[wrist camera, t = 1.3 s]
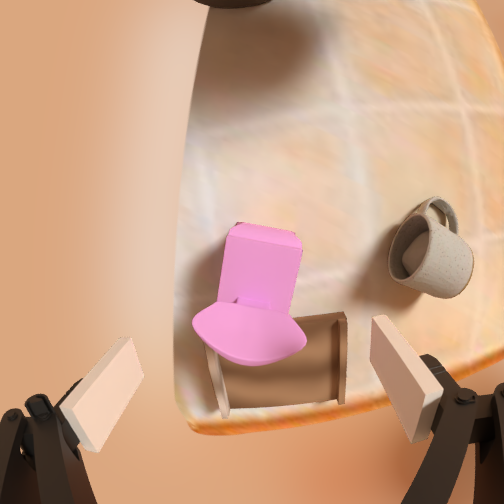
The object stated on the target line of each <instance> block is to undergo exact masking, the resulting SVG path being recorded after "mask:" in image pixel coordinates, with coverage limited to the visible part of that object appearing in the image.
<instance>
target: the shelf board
mask: <svg viewBox="0 0 504 504" xmlns="http://www.w3.org/2000/svg"><path fill="white" fill-rule="evenodd" d="M293 320H294V321H295V322H296V323H297V324H298V326H299V327H300V328H301V329H302V331H303V332H304V334H305V336H306V339H307V342H306V345H305V346H304V347H303V348H302V349H301V350H300V351H298V352H297V353H295V354H294V355H291V356H289V357H287V358H285V359H282V360H280V361H277V362H274V363H270V364H267V365H261V366H245V365H240V364H236V363H233V362H231V361H229V360H227V359H226V358H224V357H222V356H221V355H219V354H218V353H217V352H215V351H214V350H213V349H212V348H210V347H209V346H208V345H207V344H206V343H205V342H204V341H203V343H204V347H205V351H206V356H207V360H208V368H209V372H210V376H211V380H212V384H213V388H214V392H215V396H216V398H217V401H218V404H219V408H220V412H221V416H222V419H228V418H229V413H230V409H235V408H258V407H273V406H285V405H295V404H304V403H313V402H320V401H328V400H334V399H337V401H338V405H341V404H345V389H346V368H347V318H346V316H345V314H344V312H337V313H329V314H322V315H314V316H305V317H297V318H293Z"/></svg>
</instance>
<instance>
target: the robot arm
mask: <svg viewBox="0 0 504 504" xmlns="http://www.w3.org/2000/svg"><path fill="white" fill-rule="evenodd" d="M195 1H196V2H198V3H201V4H204V5H208V6H212V7H220V8H239V7H247V6H253V5H257V4H261V3H264V2H267V1H269V0H195ZM370 362H371V364H372V366H373V367H374V369H375V371H376V373H377V375H378V377H379V379H380V381H381V383H382V385H383V387H384V389H385V391H386V393H387V395H388V397H389V399H390V401H391V403H392V405H393V407H394V409H395V411H396V413H397V415H398V417H399V419H400V422H401V424H402V426H403V428H404V430H405V432H406V434H407V437H408V439H409V441H410V443H411V444H413V443H416V442H419V441H422V440H425V439H428V436H429V433H430V430H432V432H433V434H434V437H433V440H432V442H431V444H430V447H429V449H428V451H427V454H426V456H425V458H424V460H423V462H422V464H421V466H420V468H419V470H418V472H417V474H416V477H415V478H414V480H413V482H412V485H411V486H410V488H409V490H408V492H407V493H406V495H405V497H404V499H403V500H402V502H401V504H447V503H448V500H449V498H450V495H451V493H452V490H453V488H454V485H455V483H456V480H457V477H458V475H459V472H460V469H461V466H462V463H463V459H464V457H465V454H466V451H467V447H468V444H471V443H475V455H476V456H475V487H474V500H473V504H504V383H501V384H499V385H498V386H497V387H496V388H495V391H494V393H493V394H489V395H481V396H478V395H477V394H476V392H474V391H473V390H470V389H467V388H460V387H459V385H458V384H457V383H456V382H455V380H454V379H453V378H452V377H451V376H450V374H449V373H448V372H447V371H446V369H445V368H444V367H443V366H442V365H441V363H440V362H439V361H438V360H437V359H436V358H434V357H433V356H431V355H429V354H426V355H422V356H418V355H417V353H416V352H415V351H414V349H413V348H412V347H411V346H410V344H409V343H408V342H407V341H406V339H405V338H404V337H403V336H402V334H401V333H400V332H399V331H398V329H397V328H396V327H395V326H394V324H393V323H392V322H391V321H390V320H389V318H388V317H387V316H386V315H379V316H373V317H372V329H371V348H370ZM143 378H144V374H143V371H142V368H141V365H140V362H139V359H138V356H137V353H136V350H135V347H134V344H133V341H132V338H131V337H120V338H119V339H118V340H117V341H116V343H115V344H114V345H113V346H112V347H111V348H110V349H109V350H108V351H107V353H106V354H105V355H104V356H103V357H102V358H101V359H100V360H99V362H98V363H97V364H96V365H95V366H94V367H93V368H92V369H91V370H90V372H89V373H88V374H87V375H86V376H85V377H84V378H82V379H80V380H79V381H77V382H76V383H74V385H73V386H72V387H71V388H70V390H68V391H67V392H66V395H64V396H63V397H62V398H61V399H60V401H59V402H58V403H57V404H56V405H55V406H54V407H53V406H52V405H51V403H50V401H49V399H48V397H47V396H46V395H44V394H36V395H33V396H31V397H30V398H28V399H27V401H26V402H25V407H26V408H27V410H28V412H29V414H30V416H31V417H25V416H24V414H23V413H22V411H21V410H20V409H16V408H15V409H10V410H8V411H7V412H6V413H5V414H4V415H3V417H2V420H1V422H0V504H97V502H96V499H95V496H94V494H93V491H92V488H91V485H90V482H89V479H88V476H87V473H86V470H85V467H84V463H83V460H82V456H81V453H80V450H79V449H78V447H77V445H78V444H79V442H81V444H82V445H83V447H84V448H85V450H88V451H91V452H95V453H99V451H100V450H101V448H102V446H103V444H104V443H105V441H106V439H107V438H108V436H109V434H110V433H111V431H112V429H113V428H114V426H115V424H116V423H117V421H118V419H119V418H120V416H121V414H122V413H123V411H124V409H125V408H126V406H127V404H128V402H129V401H130V399H131V398H132V396H133V395H134V393H135V391H136V390H137V388H138V386H139V385H140V383H141V381H142V380H143ZM20 448H21V449H22V450H23V452H22V454H21V452H20Z"/></svg>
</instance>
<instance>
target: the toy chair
mask: <svg viewBox="0 0 504 504" xmlns="http://www.w3.org/2000/svg"><path fill="white" fill-rule="evenodd" d="M302 252H303V250H302V243H301V241H300V239H299V238H298V237H296V236H295V233H294V232H292V231H288V230H282V229H277V228H272V227H266V226H261V225H255V224H250V223H244V222H237V225H236V226H234V227H232V228H231V229H230V230H229V233H228V235H227V238H226V244H225V250H224V257H223V264H222V270H221V277H220V283H219V290H218V296H217V302H215V303H214V304H212V305H210V306H209V307H207V308H205V309H203V310H202V311H200V312H199V313H198V314H196V315H195V316H194V318H193V319H192V326H193V328H194V330H195V332H196V333H197V334H198V336H199V337H200V338H201V339H202V340H203V341H204V342H205V343H206V344H207V345H208V346H209V347H210V348H212V349H213V350H214V351H215V352H217V353H218V354H219V355H221V356H222V357H224V358H226V359H227V360H229V361H231V362H233V363H236V364H240V365H245V366H261V365H267V364H270V363H274V362H277V361H280V360H282V359H285V358H287V357H289V356H291V355H294V354H295V353H297V352H298V351H300V350H301V349H302V348H303V347H304V346H305V345H306V342H307V339H306V336H305V334H304V332H303V331H302V329H301V328H300V327H299V326H298V324H297V323H296V322H295V321H294V320H293V318H292V317H291V316H290V315H289V314H288V313H289V309H290V304H291V300H292V295H293V291H294V287H295V282H296V278H297V274H298V270H299V265H300V261H301V256H302Z"/></svg>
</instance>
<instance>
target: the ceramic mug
mask: <svg viewBox="0 0 504 504" xmlns="http://www.w3.org/2000/svg"><path fill="white" fill-rule="evenodd" d="M430 203H432V204H434V205H435V206H437V207H438V208H439V209H440V210H442V211H443V213H444V214H446V216H447V219H448V222H449V230H448V229H447V228H446V227H444V226H443V225H441V224H440V223H438V222H437V221H435V220H434V219H432V218H431V217H429V216H428V215H426V211H427V209H428V207H429V205H430ZM473 268H474V257H473V253H472V250H471V248H470V247H469V246H468V244H467V243H466V242H465V241H464V240H463V239H462V238H461V237H459V236H458V219H457V216H456V214H455V212H454V210H453V208H452V207H451V205H450V204H449V203H448V202H447V201H445V200H444V199H443V198H441V197H432V198H430V199H428V200H426V201H424V202H423V203H422V204H421V206H420V208H419V210H418V212H417V213H415V214H413V215H411V216H409V217H408V218H407V219H406V220H405V221H404V222H403V223H402V225H401V226H400V227H399V229H398V231H397V233H396V235H395V237H394V239H393V241H392V244H391V247H390V251H389V256H388V270H389V273H390V276H391V277H392V279H393V280H394V281H396V282H397V283H399V284H402V285H405V286H408V287H410V288H413V289H415V290H418V291H421V292H424V293H427V294H429V295H431V296H434V297H437V298H443V299H448V298H453V297H455V296H457V295H459V294H460V293H461V292H462V291H463V290H464V289H465V288H466V286H467V285H468V283H469V281H470V279H471V276H472V272H473Z"/></svg>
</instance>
